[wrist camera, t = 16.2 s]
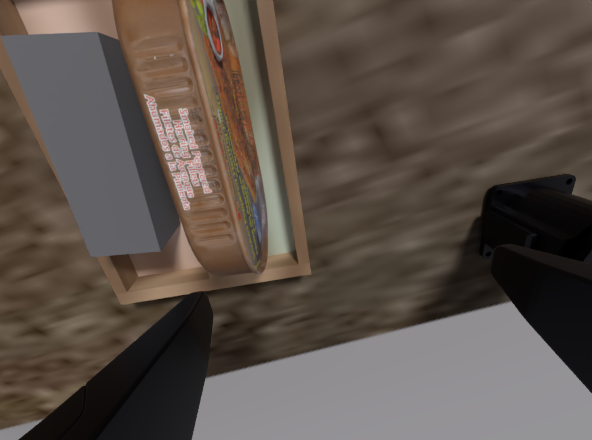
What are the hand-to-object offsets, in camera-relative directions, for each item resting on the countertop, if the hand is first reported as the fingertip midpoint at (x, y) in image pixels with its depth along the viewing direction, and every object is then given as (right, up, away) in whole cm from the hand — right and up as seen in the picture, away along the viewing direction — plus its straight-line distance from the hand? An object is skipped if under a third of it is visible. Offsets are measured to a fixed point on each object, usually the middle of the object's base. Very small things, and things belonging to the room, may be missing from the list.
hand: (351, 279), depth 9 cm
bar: (-12, +6, +9) cm, 17 cm away
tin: (-6, +8, +9) cm, 14 cm away
